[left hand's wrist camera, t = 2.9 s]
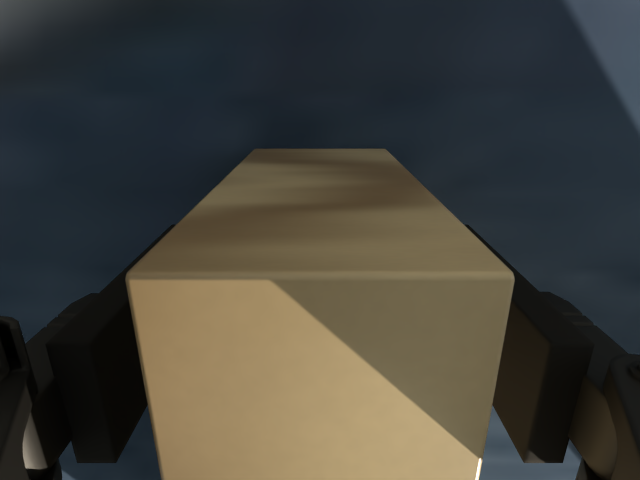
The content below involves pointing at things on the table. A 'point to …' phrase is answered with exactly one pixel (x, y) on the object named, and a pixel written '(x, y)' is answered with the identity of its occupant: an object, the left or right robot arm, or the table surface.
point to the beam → (320, 326)
